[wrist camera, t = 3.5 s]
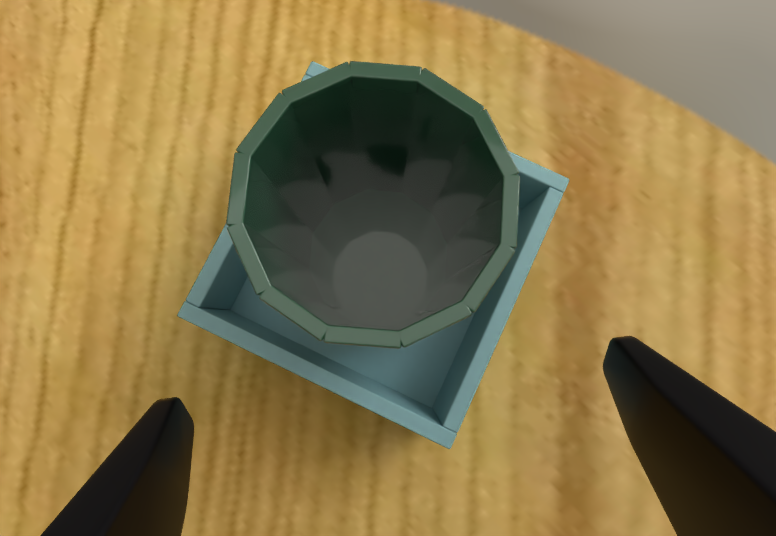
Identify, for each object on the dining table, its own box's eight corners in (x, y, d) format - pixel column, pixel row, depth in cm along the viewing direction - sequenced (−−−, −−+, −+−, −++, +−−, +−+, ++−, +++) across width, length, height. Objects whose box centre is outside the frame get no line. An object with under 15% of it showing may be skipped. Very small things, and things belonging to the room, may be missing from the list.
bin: (437, 424, 20) (450, 450, 16) (216, 316, 21) (176, 315, 17) (535, 205, 21) (570, 178, 17) (324, 107, 22) (311, 59, 18)
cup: (342, 360, 20) (301, 397, 10) (279, 223, 21) (183, 132, 11) (479, 294, 20) (570, 267, 10) (413, 162, 21) (440, 19, 11)
